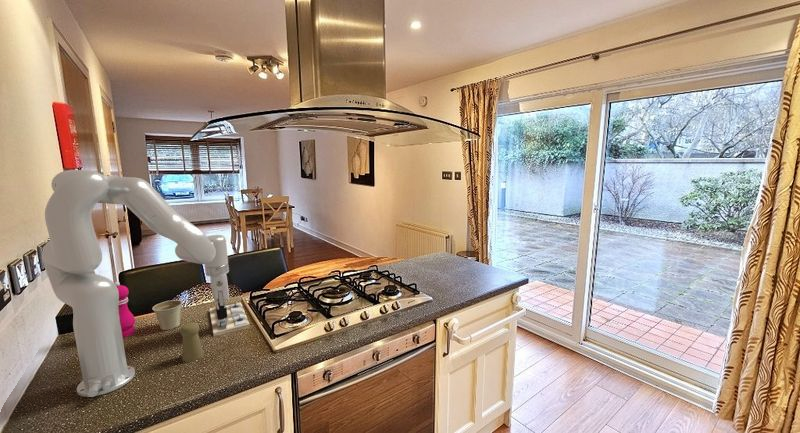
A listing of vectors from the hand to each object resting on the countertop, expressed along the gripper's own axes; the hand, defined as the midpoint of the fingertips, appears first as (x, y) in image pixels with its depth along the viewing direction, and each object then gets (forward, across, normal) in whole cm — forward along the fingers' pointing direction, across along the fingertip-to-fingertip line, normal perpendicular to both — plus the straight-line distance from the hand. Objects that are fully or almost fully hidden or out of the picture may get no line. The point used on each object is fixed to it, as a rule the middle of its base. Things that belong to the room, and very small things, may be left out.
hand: (222, 315), depth 127 cm
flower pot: (+5, +12, +17) cm, 22 cm away
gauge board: (+5, +7, -2) cm, 9 cm away
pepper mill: (+5, +14, +31) cm, 35 cm away
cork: (+5, -16, +10) cm, 19 cm away
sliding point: (+3, 0, -2) cm, 4 cm away
